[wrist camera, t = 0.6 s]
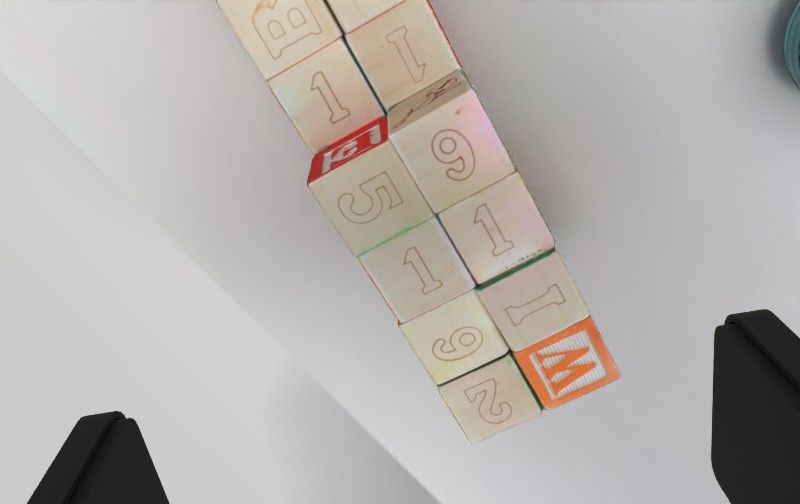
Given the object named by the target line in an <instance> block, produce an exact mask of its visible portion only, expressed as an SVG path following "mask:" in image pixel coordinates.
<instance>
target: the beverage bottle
mask: <svg viewBox="0 0 800 504" xmlns="http://www.w3.org/2000/svg"><path fill="white" fill-rule="evenodd" d="M784 53H785V60H786V64H787V67H788V69H789V72H790V74H791V76H792V79H793V78H794V80H795V81H796V83H797V84H798V85H799V87H800V0H799V2H798V4H797V5H796V7H795V9H794V11H793V13H792V15H791V17H790V20H789V23H788V25H787V29H786V33H785V41H784ZM794 80H793V81H794ZM794 83H795V82H794ZM796 83H795V84H796ZM796 86H797V85H796ZM797 87H798V86H797ZM799 90H800V89H799Z"/></svg>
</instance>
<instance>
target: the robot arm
mask: <svg viewBox="0 0 800 504" xmlns="http://www.w3.org/2000/svg"><path fill="white" fill-rule="evenodd" d="M711 462H712V468H713V471H714V474H715V477H716V479H717V481H718V483H719V485H720V487H721V488H722V490H723V491H724V493H725V495H726V496H727V498H728V499H729V501H730V503H731V504H800V338H799V337H798V336H797V335H796V334H795V333H794V332H792V331H791V330H790V329H789V328H788V327H787V326H786V325H785V324H784V323H783V322H782V321H781V320H780V319H779V318H778V317H777V316H776V315H775V314H774V313H772V312H771V311H769V310H766V309H763V310H756V311H750V312H744V313H737V314H731V315H729V316H727V318H726V320H725V325H721V326H718V327H716V329H715V335H714V370H713V408H712V446H711ZM27 504H169V501H168V499H167V496H166V494H165V491H164V489H163V486H162V484H161V481H160V479H159V477H158V474H157V472H156V469H155V467H154V465H153V462H152V459H151V457H150V455H149V452H148V449H147V447H146V444H145V442H144V439H143V437H142V434H141V432H140V429H139V427H138V425H137V423H136V421H135V420H134V419H132V418H127V419H126V417H125V415H123V414H122V413H121V412H119V411H114V412H108V413H101V414H95V415H89V416H84V417H82V418H80V420H79V421H78V422H77V424H76V425H75V427H74V428H73V430H72V432H71V433H70V435H69V437H68V438H67V440H66V442H65V443H64V444H63V446H62V448H61V450H60V451H59V453H58V454H57V456H56V457H55V459H54V461H53V462H52V464H51V466H50V467H49V469H48V470H47V472H46V474H45V475H44V477H43V478H42V480H41V482H40V483H39V485H38V487H37V488H36V490H35V491H34V493H33V495H32V496H31V498H30V499H29V501H28V503H27Z"/></svg>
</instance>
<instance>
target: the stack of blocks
mask: <svg viewBox="0 0 800 504" xmlns="http://www.w3.org/2000/svg"><path fill="white" fill-rule="evenodd" d="M216 3H217V4H218V6H219V8H220V10H221V11H222V13H223V14H224V16H225V18H226V19H227V21H228V22H229V24H230V25H231V27H232V29H233V30H234V32H235V33H236V35H237V37H238V38H239V40H240V41H241V43H242V44H243V46H244V47H245V49H246V51H247V52H248V54H249V55H250V57H251V58H252V60H253V61H254V63H255V65H256V66H257V68H258V69H259V71H260V73H261V74H262V76H263V77H264V78H265V79H266V81H267V83H268V85H269V87H270V89H271V91H272V93H273V94H274V96H275V97H276V99H277V100H278V102H279V104H280V105H281V107H282V108H283V110H284V111H285V113H286V115H287V116H288V118H289V119H290V120H291V122H292V123H293V125H294V127H295V128H296V130H297V131H298V133H299V134H300V136H301V137H302V139H303V140H304V142H305V144H306V145H307V146H308V147H309V149H310V150H311V151H312V152H313V153H314V154H315V156H314V158H313V160H312V163H311V169H310V172H309V176H308V180H307V186H308V187H309V189H310V190H311V192H312V193H313V195H314V196H315V198H316V199H317V201H318V202H319V204H320V205H321V207H322V208H323V210H324V211H325V213H326V215H327V216H328V218H329V219H330V221H331V222H332V224H333V225H334V227H335V228H336V230H337V231H338V233H339V234H340V236H341V237H342V239H343V240H344V242H345V243H346V245H347V247H348V248H349V250H350V251H351V253H352V254H353V255H354V256H356V257H358V259H359V260H360V262H361V264H362V265H363V267H364V269H365V270H366V272H367V274H368V275H369V277H370V278H371V280H372V281H373V283H374V284H375V286H376V287H377V289H378V290H379V292H380V293H381V295H382V296H383V298H384V300H385V301H386V303H387V304H388V306H389V307H390V309H391V311H392V312H393V314H394V315H395V317H396V318H397V319H398V326H399V328H400V330H401V331H402V333H403V335H404V336H405V338H406V339H407V341H408V342H409V344H410V346H411V347H412V349H413V350H414V352H415V353H416V355H417V356H418V358H419V359H420V361H421V363H422V364H423V366H424V367H425V369H426V370H427V372H428V374H429V375H430V377H431V378H432V380H433V381H434V382H435V384H437V387H438V390H439V393H440V395H441V396H442V398H443V399H444V401H445V402H446V404H447V406H448V407H449V409H450V411H451V412H452V414H453V415H454V417H455V419H456V420H457V422H458V423H459V425H460V427H461V428H462V430H463V431H464V433H465V435H466V436H467V438H468V439H469V441H470V442H471V443H477V442H479V441H481V440H483V439H486V438H488V437H490V436H492V435H495V434H497V433H499V432H502V431H504V430H506V429H508V428H511V427H513V426H515V425H518V424H520V423H523V422H525V421H528V420H530V419H532V418H535V417H537V416H539V415H541V414H542V409H546V410H549V409H553V408H556V407H559V406H561V405H563V404H565V403H567V402H569V401H572V400H574V399H576V398H578V397H580V396H583V395H585V394H587V393H589V392H591V391H593V390H596V389H598V388H600V387H602V386H604V385H606V384H609V383H611V382H613V381H615V380H617V379H618V378H620V377H621V374H620V372H619V370H618V368H617V366H616V364H615V362H614V360H613V359H612V357H611V355H610V353H609V351H608V349H607V347H606V345H605V343H604V341H603V339H602V337H601V335H600V333H599V331H598V329H597V327H596V325H595V323H594V321H593V319H592V318H591V316H590V311H589V309H588V307H587V305H586V303H585V302H584V300H583V298H582V296H581V294H580V292H579V290H578V289H577V287H576V285H575V283H574V281H573V279H572V277H571V276H570V274H569V272H568V270H567V268H566V266H565V264H564V263H563V261H562V259H561V257H560V255H559V253H558V252H557V250H556V248H555V246H554V244H555V239H554V237H553V235H552V234H551V231H550V229H549V227H548V226H547V224H546V222H545V221H544V219H543V217H542V215H541V213H540V211H539V209H538V207H537V205H536V203H535V201H534V199H533V197H532V196H531V194H530V192H529V190H528V188H527V186H526V184H525V183H524V181H523V179H522V177H521V176H520V174H519V172H518V171H517V169H516V167H515V165H514V163H513V161H512V159H511V157H510V155H509V153H508V151H507V149H506V147H505V145H504V144H503V142H502V140H501V139H500V137H499V135H498V134H497V132H496V130H495V128H494V126H493V124H492V122H491V120H490V118H489V116H488V115H487V113H486V111H485V109H484V107H483V105H482V103H481V102H480V100H479V98H478V95H477V93H476V91H475V90H474V89H473V87H472V86H471V84H470V82H469V80H468V79H467V77H466V75H465V73H464V71H463V69H462V67H461V65H460V63H459V61H458V59H457V57H456V55H455V53H454V51H453V49H452V47H451V45H450V43H449V41H448V39H447V37H446V35H445V33H444V31H443V29H442V27H441V25H440V23H439V21H438V19H437V17H436V14H435V12H434V10H433V8H432V6H431V4H430V2H429V0H216Z"/></svg>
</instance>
